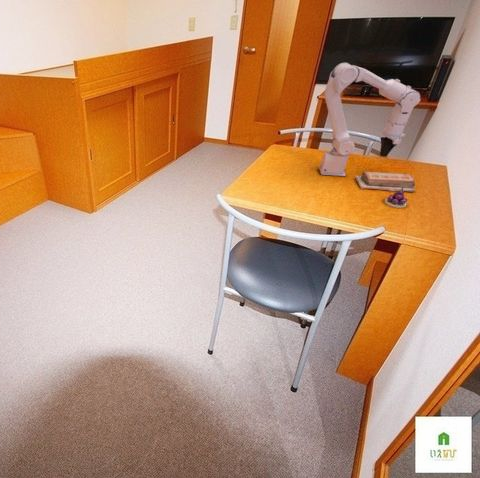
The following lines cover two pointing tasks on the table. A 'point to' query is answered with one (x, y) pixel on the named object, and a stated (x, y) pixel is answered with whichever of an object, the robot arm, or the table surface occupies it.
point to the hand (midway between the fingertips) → (383, 155)
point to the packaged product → (386, 181)
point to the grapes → (397, 199)
